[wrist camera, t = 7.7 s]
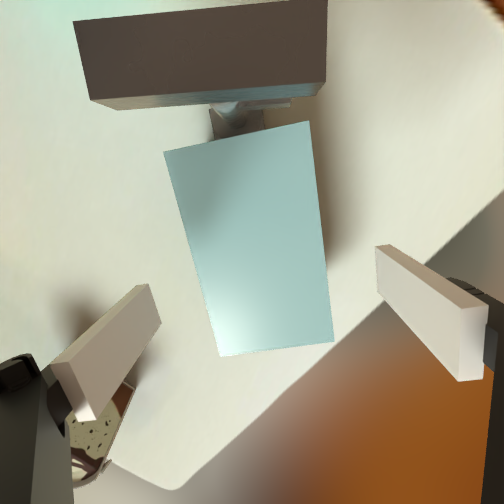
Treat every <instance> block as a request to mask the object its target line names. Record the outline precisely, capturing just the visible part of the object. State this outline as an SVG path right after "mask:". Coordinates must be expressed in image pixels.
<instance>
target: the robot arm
mask: <svg viewBox="0 0 504 504" xmlns="http://www.w3.org/2000/svg"><path fill="white" fill-rule="evenodd" d="M375 256H376V273H377V291H378V293H379V294H380V295H381V296H382V297H383V299H384V300H385V301H386V302H387V303H388V304H389V305H390V306H391V307H392V308H393V309H394V311H395V312H396V313H397V314H398V315H399V316H400V317H401V318H402V320H403V321H404V322H405V323H406V324H407V325H408V326H409V327H410V329H411V330H412V331H413V332H414V333H415V334H416V335H417V336H418V337H419V338H420V340H421V341H422V342H423V343H424V344H425V345H426V346H427V347H428V349H429V350H430V351H431V352H432V353H433V354H434V355H435V356H436V357H437V359H438V360H439V361H440V362H441V363H442V364H443V365H444V366H445V367H446V368H447V370H448V371H449V372H450V373H451V374H452V375H453V376H454V377H455V379H456V380H457V381H467V380H476V379H483V370H484V364H486V365H487V366H488V367H489V368H490V369H491V370H492V371H493V372H494V380H493V390H492V400H491V409H490V419H489V428H488V438H487V448H486V457H485V467H484V477H483V487H482V497H481V504H504V304H503V303H501V302H500V301H498V300H496V299H494V298H493V297H491V296H489V295H487V294H484V292H482V291H480V290H479V289H476V288H475V287H473V286H472V285H470V284H468V283H466V282H464V281H461V280H458V279H454V278H444V277H442V276H440V275H439V274H437V273H435V272H434V271H432V270H431V269H429V268H427V267H426V266H424V265H422V264H421V263H419V262H418V261H416V260H414V259H413V258H411V257H410V256H408V255H406V254H405V253H403V252H401V251H400V250H398V249H397V248H395V247H393V246H392V245H390V244H388V245H382V246H375ZM161 324H162V323H161V320H160V317H159V314H158V311H157V308H156V305H155V302H154V299H153V296H152V293H151V290H150V287H149V284H143V285H136V286H135V287H134V288H133V289H132V290H131V291H130V292H129V293H127V294H126V295H125V296H124V297H123V298H122V299H121V300H120V301H119V302H118V303H116V304H115V305H114V306H113V307H112V308H111V309H110V310H109V311H108V312H106V313H105V314H104V315H103V316H102V317H101V318H100V319H99V320H98V321H96V322H95V323H94V324H93V325H92V326H91V327H90V328H89V329H88V330H86V331H85V332H84V333H83V334H82V335H81V336H80V337H79V338H78V339H76V340H75V341H74V342H73V343H72V344H71V345H70V346H69V347H68V348H66V349H65V350H64V351H63V352H62V353H61V354H60V355H59V356H58V357H56V358H55V359H54V360H53V361H52V362H51V363H50V364H49V365H48V366H47V367H45V368H44V369H43V370H42V371H41V372H40V370H39V368H38V366H37V364H36V362H35V360H34V358H33V356H32V355H31V354H22V355H18V356H16V357H13V358H11V359H9V360H7V361H4V362H3V363H1V364H0V504H74V497H73V480H72V464H71V447H70V431H69V425H68V423H67V421H66V417H67V416H68V415H69V414H70V412H71V411H72V410H73V412H74V414H75V416H76V418H77V420H78V422H82V421H91V420H97V418H98V417H99V415H100V414H101V413H102V411H103V410H104V408H105V407H106V405H107V404H108V402H109V401H110V399H111V398H112V396H113V395H114V393H115V392H116V390H117V389H118V387H119V386H120V384H121V383H122V381H123V380H124V378H125V377H126V375H127V374H128V372H129V371H130V370H131V368H132V367H133V365H134V364H135V362H136V361H137V359H138V358H139V356H140V355H141V353H142V352H143V350H144V349H145V347H146V346H147V344H148V343H149V341H150V340H151V338H152V337H153V335H154V334H155V332H156V331H157V330H158V328H159V327H160V325H161Z"/></svg>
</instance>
